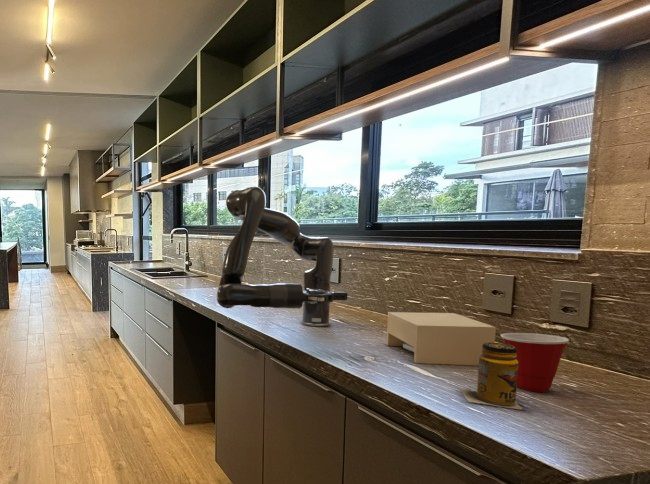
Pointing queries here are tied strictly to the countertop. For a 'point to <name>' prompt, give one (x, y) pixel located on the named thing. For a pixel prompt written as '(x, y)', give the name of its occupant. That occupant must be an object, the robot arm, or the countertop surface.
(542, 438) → the countertop surface
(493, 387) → the condiment
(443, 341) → the cover
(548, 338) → the plastic cup
